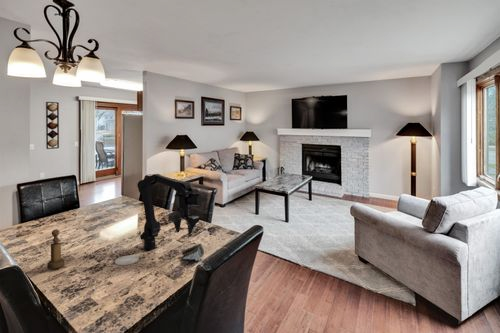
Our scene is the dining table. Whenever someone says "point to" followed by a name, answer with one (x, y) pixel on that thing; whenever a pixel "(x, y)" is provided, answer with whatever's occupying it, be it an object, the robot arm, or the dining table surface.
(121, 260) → the white round plate
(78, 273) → the dining table surface
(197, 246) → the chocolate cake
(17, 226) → the dining table surface
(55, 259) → the wooden chess pawn
